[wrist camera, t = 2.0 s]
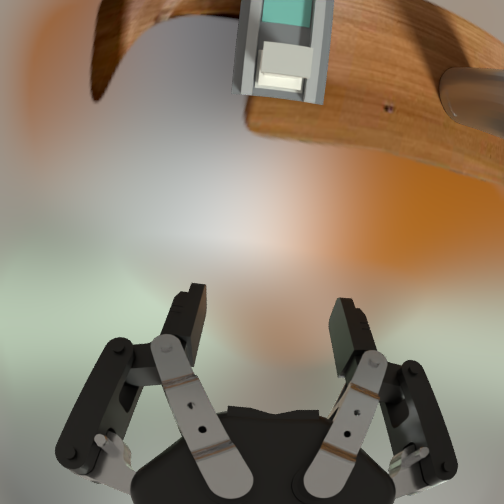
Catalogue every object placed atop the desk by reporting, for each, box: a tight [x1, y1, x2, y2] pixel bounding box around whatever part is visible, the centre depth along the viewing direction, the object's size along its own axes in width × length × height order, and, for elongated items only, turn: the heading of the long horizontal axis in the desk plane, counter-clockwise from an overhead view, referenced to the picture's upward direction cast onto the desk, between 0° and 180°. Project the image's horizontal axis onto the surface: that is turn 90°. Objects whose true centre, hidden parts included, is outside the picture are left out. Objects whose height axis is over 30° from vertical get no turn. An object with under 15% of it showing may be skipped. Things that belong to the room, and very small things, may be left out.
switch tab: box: [258, 41, 313, 90], centre depth 22 cm, size 4×5×10 cm
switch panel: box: [231, 0, 334, 105], centre depth 25 cm, size 16×11×4 cm
